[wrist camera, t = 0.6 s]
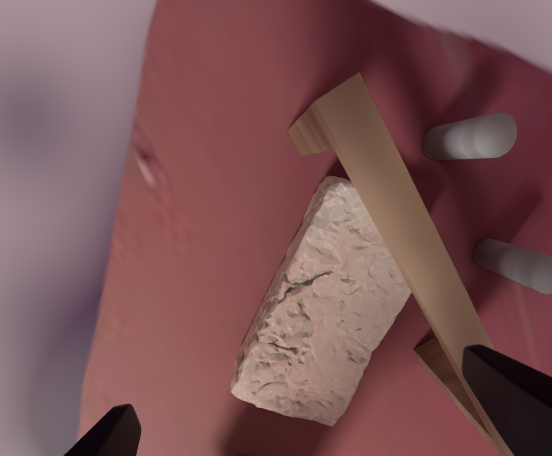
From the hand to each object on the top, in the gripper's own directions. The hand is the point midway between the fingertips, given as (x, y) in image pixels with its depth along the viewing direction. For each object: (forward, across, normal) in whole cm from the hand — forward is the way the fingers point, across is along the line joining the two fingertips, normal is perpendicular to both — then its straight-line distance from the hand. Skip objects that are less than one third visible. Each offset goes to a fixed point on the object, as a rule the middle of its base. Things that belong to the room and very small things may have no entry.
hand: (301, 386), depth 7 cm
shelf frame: (+14, -11, +2) cm, 18 cm away
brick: (+14, -3, +6) cm, 15 cm away
